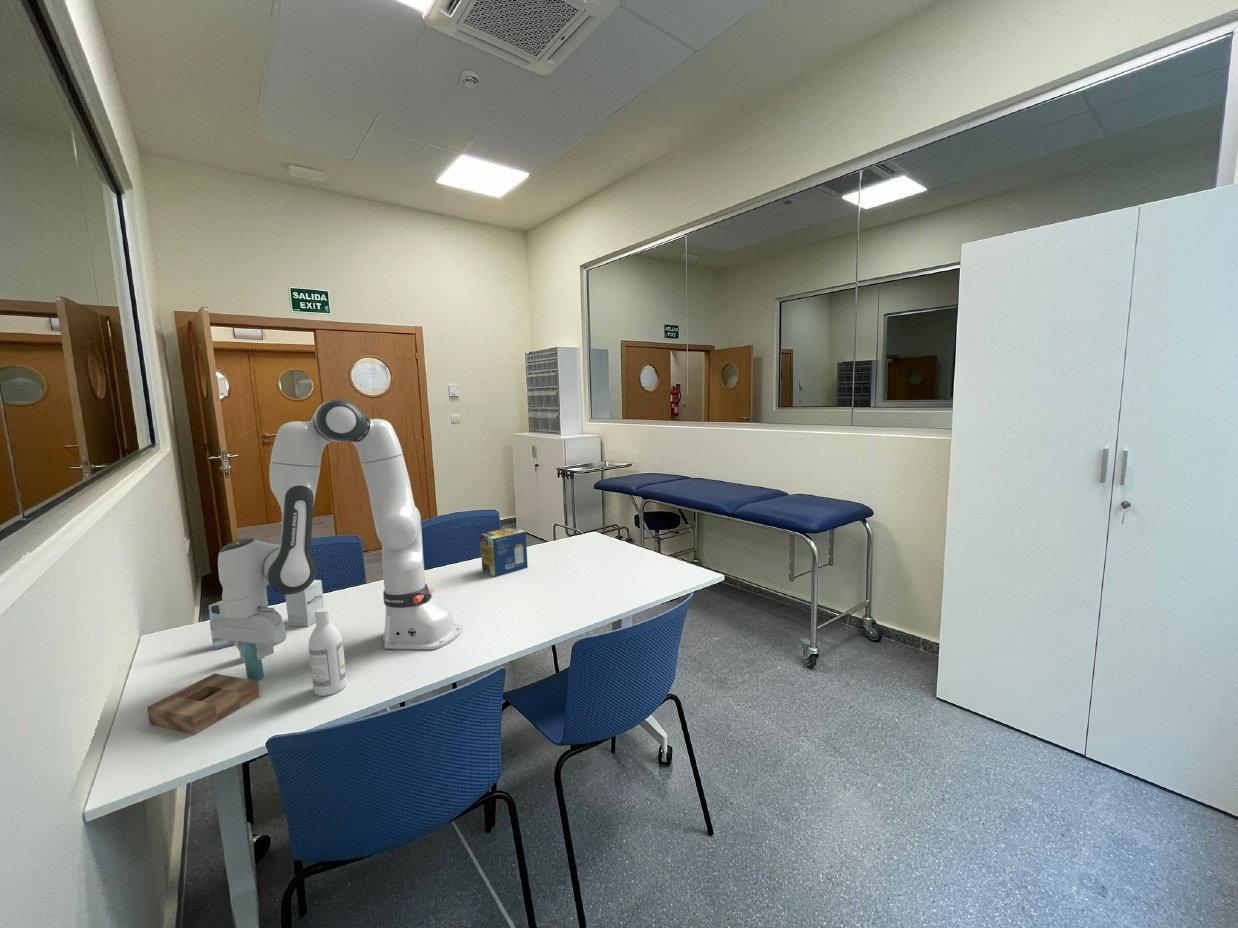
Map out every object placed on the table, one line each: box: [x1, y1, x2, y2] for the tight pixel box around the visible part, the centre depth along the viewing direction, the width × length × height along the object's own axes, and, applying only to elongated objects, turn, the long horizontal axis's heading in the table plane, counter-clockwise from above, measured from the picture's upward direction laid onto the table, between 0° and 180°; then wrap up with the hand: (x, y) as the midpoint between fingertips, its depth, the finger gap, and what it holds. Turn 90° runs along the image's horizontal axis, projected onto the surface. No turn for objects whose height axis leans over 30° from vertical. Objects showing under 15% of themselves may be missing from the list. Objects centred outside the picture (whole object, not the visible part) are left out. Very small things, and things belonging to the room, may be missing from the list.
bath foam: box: [308, 606, 348, 697], centre depth 121 cm, size 7×7×20 cm
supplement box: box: [284, 579, 325, 628], centre depth 161 cm, size 7×7×13 cm
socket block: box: [146, 673, 260, 735], centre depth 115 cm, size 14×14×4 cm
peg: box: [242, 642, 265, 681], centre depth 127 cm, size 3×3×12 cm
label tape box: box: [208, 604, 235, 650], centre depth 147 cm, size 9×4×12 cm, turn 128°
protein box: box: [479, 526, 528, 578], centre depth 204 cm, size 10×15×16 cm
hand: (253, 657), depth 127 cm, fingers closed on peg, 3 cm apart
